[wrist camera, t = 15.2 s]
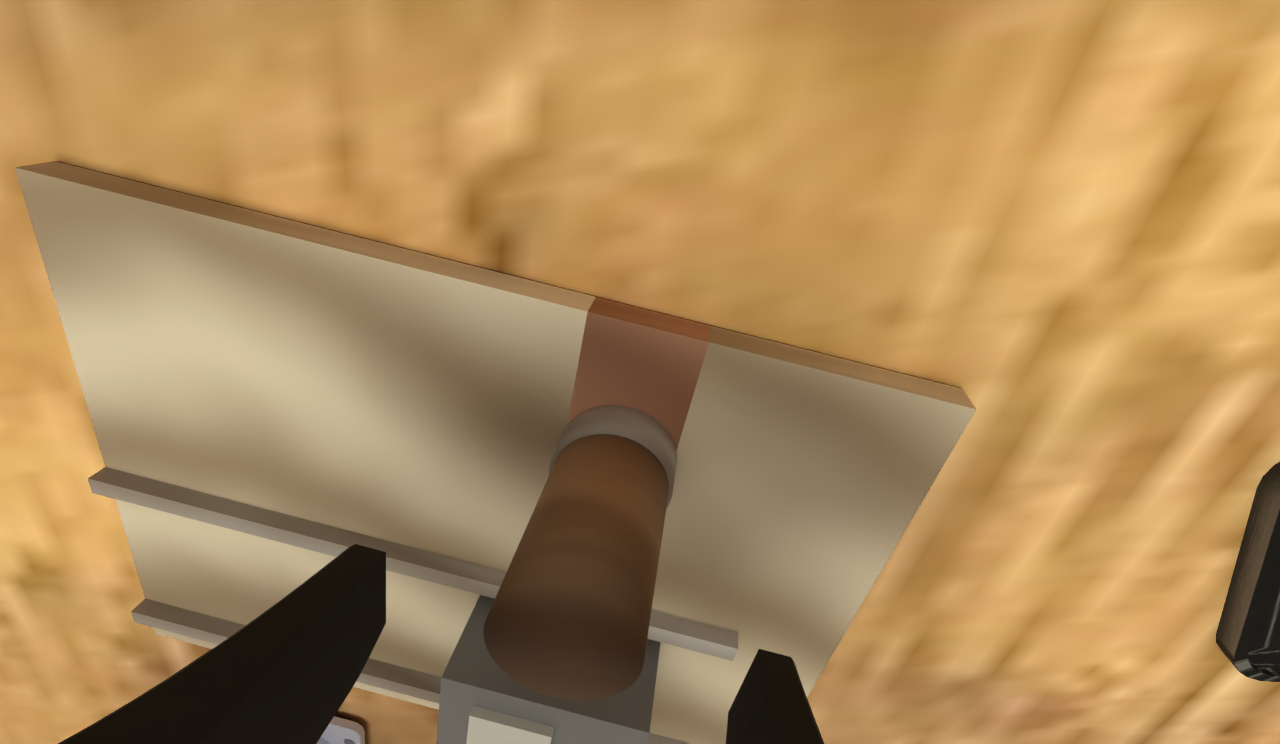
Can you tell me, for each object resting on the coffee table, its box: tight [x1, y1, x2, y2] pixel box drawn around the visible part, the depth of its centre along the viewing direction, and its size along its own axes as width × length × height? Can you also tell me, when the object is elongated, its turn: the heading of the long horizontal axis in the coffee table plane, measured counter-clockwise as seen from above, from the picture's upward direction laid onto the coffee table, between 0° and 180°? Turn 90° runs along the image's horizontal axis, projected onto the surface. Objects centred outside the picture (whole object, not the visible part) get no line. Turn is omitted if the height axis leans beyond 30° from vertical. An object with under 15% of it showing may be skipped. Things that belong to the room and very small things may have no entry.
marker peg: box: [483, 405, 677, 701], centre depth 13 cm, size 3×3×6 cm
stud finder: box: [437, 595, 661, 744], centre depth 19 cm, size 5×6×4 cm
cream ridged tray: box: [15, 161, 976, 744], centre depth 19 cm, size 18×24×2 cm
